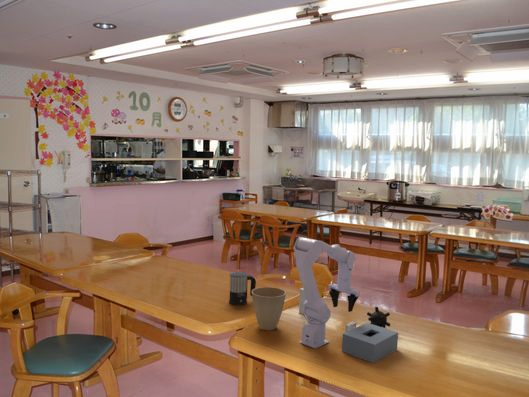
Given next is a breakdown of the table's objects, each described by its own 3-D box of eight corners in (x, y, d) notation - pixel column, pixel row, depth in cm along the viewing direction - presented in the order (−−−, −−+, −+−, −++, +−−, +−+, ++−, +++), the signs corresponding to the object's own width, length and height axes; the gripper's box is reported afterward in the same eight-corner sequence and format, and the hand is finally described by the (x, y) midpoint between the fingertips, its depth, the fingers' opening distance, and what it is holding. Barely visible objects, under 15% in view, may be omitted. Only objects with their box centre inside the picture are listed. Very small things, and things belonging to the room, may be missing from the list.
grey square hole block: (373, 363, 170) (374, 344, 169) (341, 351, 179) (342, 333, 178) (397, 349, 183) (398, 332, 182) (366, 338, 192) (367, 322, 191)
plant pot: (267, 318, 211) (268, 284, 210) (291, 328, 201) (293, 292, 199) (243, 326, 201) (244, 290, 199) (267, 336, 190) (268, 299, 189)
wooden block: (349, 337, 194) (349, 325, 193) (345, 335, 195) (345, 324, 195) (355, 334, 197) (356, 322, 197) (351, 332, 199) (352, 321, 198)
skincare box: (305, 310, 225) (306, 286, 224) (312, 312, 223) (313, 288, 222) (298, 313, 221) (299, 288, 220) (305, 315, 218) (306, 290, 217)
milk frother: (235, 306, 227) (236, 277, 225) (217, 298, 238) (218, 270, 237) (257, 301, 236) (259, 273, 235) (239, 293, 248) (240, 266, 246)
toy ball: (384, 330, 195) (360, 317, 202) (385, 339, 203) (362, 326, 209) (395, 311, 199) (371, 299, 206) (396, 321, 207) (373, 309, 213)
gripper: (364, 279, 194) (362, 311, 195) (335, 273, 204) (334, 302, 205) (355, 282, 189) (353, 315, 190) (326, 275, 199) (324, 306, 200)
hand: (342, 309), depth 197 cm, fingers open, 7 cm apart
